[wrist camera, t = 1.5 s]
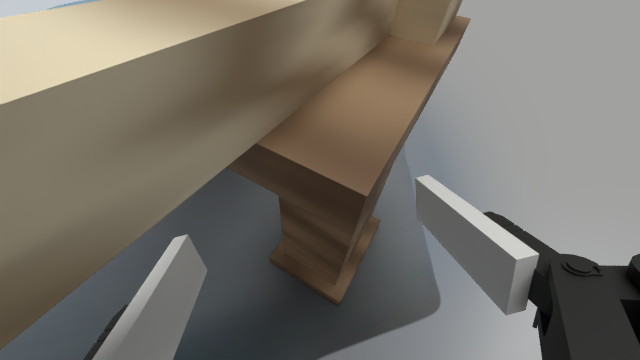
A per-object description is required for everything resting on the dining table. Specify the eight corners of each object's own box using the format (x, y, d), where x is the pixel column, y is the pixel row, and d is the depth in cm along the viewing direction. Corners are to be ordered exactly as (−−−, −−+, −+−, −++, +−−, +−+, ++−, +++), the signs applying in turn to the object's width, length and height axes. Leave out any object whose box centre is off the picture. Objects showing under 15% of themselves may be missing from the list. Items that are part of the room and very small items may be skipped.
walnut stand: (320, 195, 42) (343, -11, 20) (378, 225, 39) (478, 18, 17) (243, 297, 31) (108, 72, 9) (316, 350, 28) (386, 205, 6)
